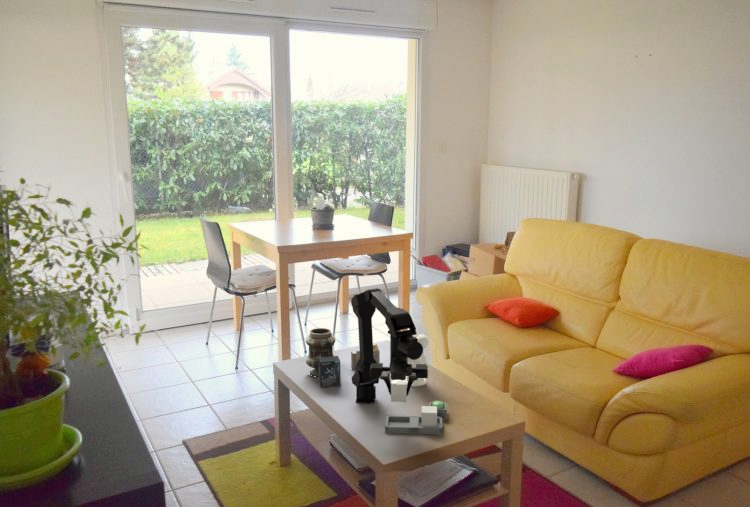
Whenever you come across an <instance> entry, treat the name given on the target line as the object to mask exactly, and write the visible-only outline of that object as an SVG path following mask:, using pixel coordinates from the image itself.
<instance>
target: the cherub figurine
mask: <svg viewBox="0 0 750 507" xmlns="http://www.w3.org/2000/svg"><path fill="white" fill-rule="evenodd" d="M406 330H410V329H409V328H408V329H406ZM415 337H416V338H417V339H418V342H419V343H420V344H421V345H422V347H423V353H422V355H421V356H420V358H418V359H416V360H412V359H410V358H408V364H412V367H416V364H426V365H427V366H428V367H429V364H428V360H427V357H426V354H425V352H424V349H426V348H427V347H428V345H429V341H430V340H429V338H428V336H427V335H426V334H424V333H422V334H418V335H417V336H415ZM408 377H409V376H406V379H407V384H408ZM425 385H427V380H426V378H418V380H414V382H413V383H412V385H411V387H413V388H417V387H423V386H425Z"/></svg>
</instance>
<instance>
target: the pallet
mask: <svg viewBox="0 0 750 507" xmlns="http://www.w3.org/2000/svg"><path fill="white" fill-rule="evenodd" d="M385 417H386V419H385V426H384V433H387V434H391V433H392V434H415V435H416V434H417V435H418V434H420V435H422V434H423V435H424V434H425V435H443V430H444V429H443V419H442V417H437V406H429V405H426V406H425V405H421V416H420V415H393V414H392V415H389V414H388V415H386V416H385Z"/></svg>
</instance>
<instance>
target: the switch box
mask: <svg viewBox="0 0 750 507" xmlns="http://www.w3.org/2000/svg"><path fill="white" fill-rule="evenodd" d="M433 402H434V401H428V406H432V403H433ZM442 402H443V401H442ZM447 408H448V407H447V402H446V401H445V402H443V409H437V417H442V420H447V419H448V418H447V417H448V409H447Z"/></svg>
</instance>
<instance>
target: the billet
mask: <svg viewBox="0 0 750 507" xmlns="http://www.w3.org/2000/svg"><path fill="white" fill-rule="evenodd" d="M390 380H391V395H390V402H395V403H407V400H408V399H407V379H405V380H392V379H390Z"/></svg>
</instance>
